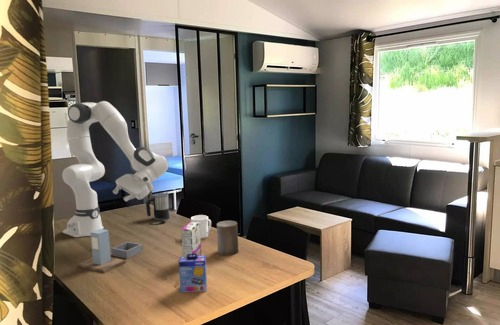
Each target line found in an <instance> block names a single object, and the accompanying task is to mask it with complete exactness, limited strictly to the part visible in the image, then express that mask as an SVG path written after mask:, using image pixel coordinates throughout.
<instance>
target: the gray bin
mask: <svg viewBox="0 0 500 325" xmlns="http://www.w3.org/2000/svg"><path fill="white" fill-rule="evenodd" d="M142 252H144V250H143V244H142V243H137V242H130V241H126V242H123V243H121V244H119V245H118V244H117V245H116V246H114V247H111V257H112V256H114V257H117V258H122V259H127V260H128V259H130V258H131V257H134V256H136V255H138V254H140V253H142Z"/></svg>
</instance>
